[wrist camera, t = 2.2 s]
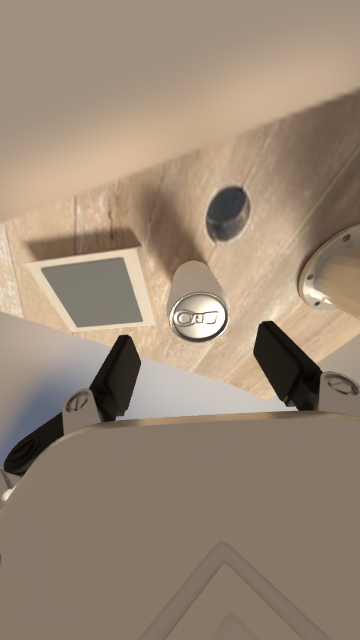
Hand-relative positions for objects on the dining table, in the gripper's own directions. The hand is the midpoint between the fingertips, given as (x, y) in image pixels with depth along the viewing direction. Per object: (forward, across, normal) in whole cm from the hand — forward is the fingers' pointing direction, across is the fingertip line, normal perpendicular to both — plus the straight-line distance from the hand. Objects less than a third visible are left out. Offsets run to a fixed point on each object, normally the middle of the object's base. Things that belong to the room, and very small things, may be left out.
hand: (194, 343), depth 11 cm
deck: (+15, +14, 0) cm, 21 cm away
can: (+15, -1, 0) cm, 15 cm away
